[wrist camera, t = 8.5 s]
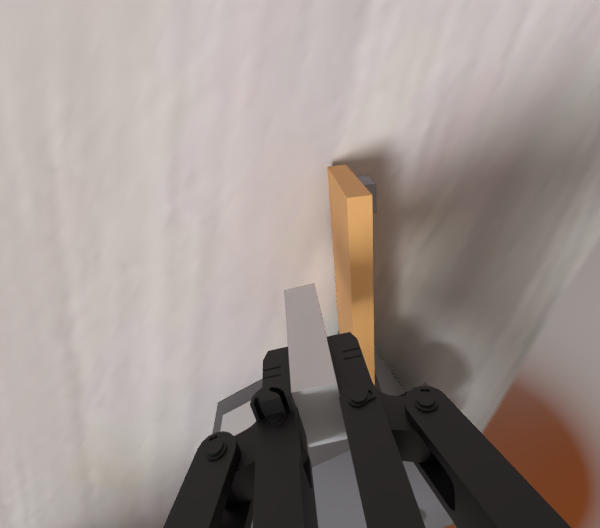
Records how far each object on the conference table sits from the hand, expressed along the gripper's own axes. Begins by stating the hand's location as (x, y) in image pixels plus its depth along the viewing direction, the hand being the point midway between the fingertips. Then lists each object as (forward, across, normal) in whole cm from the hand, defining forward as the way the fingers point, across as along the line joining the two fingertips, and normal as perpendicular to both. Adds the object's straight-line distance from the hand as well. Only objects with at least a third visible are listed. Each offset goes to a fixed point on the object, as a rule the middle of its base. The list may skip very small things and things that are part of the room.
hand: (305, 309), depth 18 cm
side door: (+8, +3, -2) cm, 9 cm away
